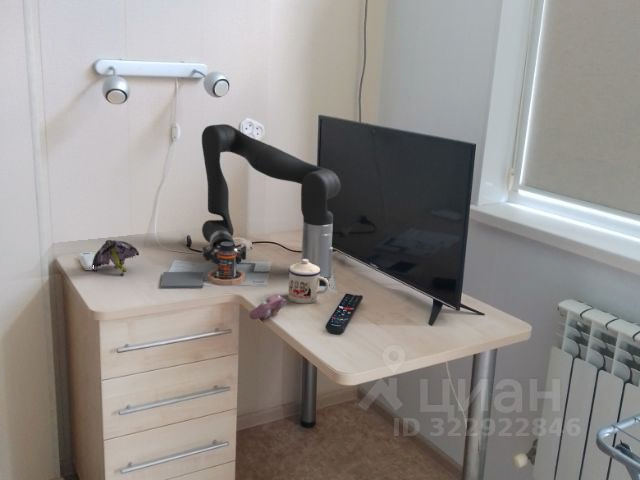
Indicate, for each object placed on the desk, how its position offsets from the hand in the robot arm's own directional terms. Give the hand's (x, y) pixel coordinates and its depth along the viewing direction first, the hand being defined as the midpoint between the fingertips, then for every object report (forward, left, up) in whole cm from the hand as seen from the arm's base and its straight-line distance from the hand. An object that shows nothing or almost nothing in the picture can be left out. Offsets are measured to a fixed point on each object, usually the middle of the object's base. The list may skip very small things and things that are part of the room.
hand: (227, 260), depth 205 cm
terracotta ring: (0, -2, -7) cm, 7 cm away
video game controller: (-10, +27, -7) cm, 29 cm away
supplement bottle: (0, -2, -7) cm, 7 cm away
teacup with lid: (-23, +15, -7) cm, 28 cm away
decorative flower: (+34, -8, -7) cm, 36 cm away
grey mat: (+13, 0, -7) cm, 15 cm away
